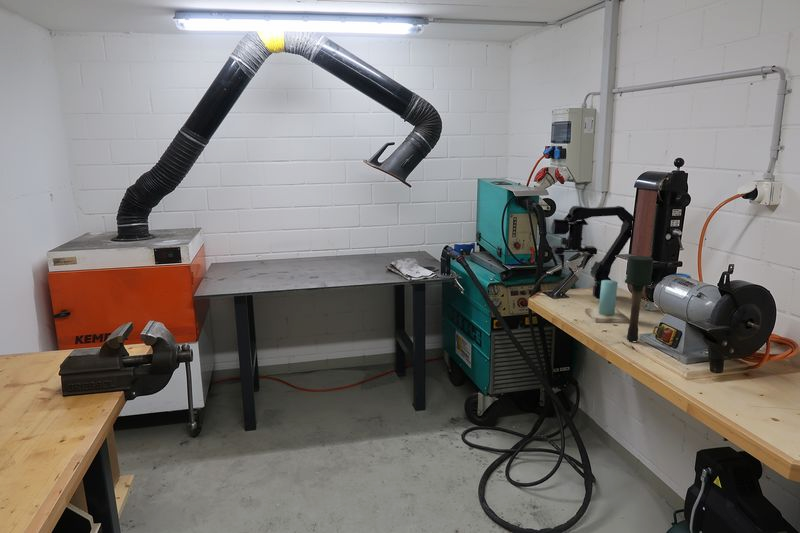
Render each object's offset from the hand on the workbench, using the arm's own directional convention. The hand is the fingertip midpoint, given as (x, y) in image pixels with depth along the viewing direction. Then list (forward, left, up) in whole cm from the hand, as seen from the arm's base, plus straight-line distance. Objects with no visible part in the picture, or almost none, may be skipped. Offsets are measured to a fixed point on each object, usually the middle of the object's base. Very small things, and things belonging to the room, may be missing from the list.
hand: (572, 268), depth 241 cm
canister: (-6, +30, -12) cm, 33 cm away
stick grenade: (-5, +57, -13) cm, 59 cm away
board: (-6, +30, -13) cm, 33 cm away
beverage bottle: (-28, +40, -13) cm, 51 cm away
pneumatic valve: (-28, +20, -13) cm, 37 cm away
